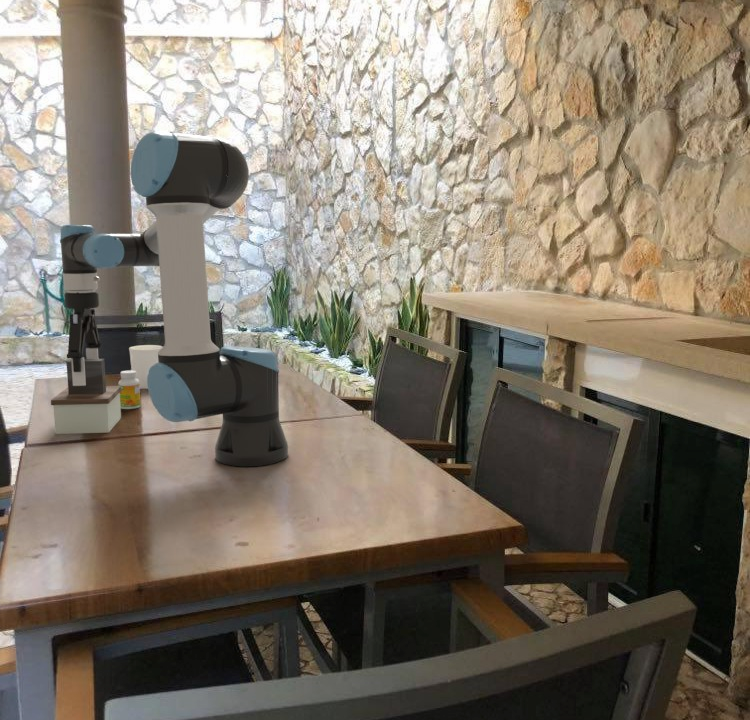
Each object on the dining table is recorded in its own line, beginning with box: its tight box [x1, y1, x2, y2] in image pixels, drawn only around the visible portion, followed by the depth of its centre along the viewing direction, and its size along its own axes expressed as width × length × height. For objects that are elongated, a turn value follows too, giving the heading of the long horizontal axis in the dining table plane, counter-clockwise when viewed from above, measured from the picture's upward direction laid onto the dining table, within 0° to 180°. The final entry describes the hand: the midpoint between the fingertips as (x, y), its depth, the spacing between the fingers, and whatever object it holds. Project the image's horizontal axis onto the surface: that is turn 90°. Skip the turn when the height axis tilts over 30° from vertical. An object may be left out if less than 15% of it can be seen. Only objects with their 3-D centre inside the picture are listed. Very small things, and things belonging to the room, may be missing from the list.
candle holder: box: [128, 344, 163, 390], centre depth 228 cm, size 10×10×12 cm
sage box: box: [52, 393, 122, 435], centre depth 181 cm, size 14×12×7 cm
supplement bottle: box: [117, 369, 141, 410], centre depth 200 cm, size 5×5×10 cm
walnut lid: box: [50, 358, 122, 406], centre depth 180 cm, size 15×13×10 cm
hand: (86, 379), depth 180 cm, fingers open, 13 cm apart
